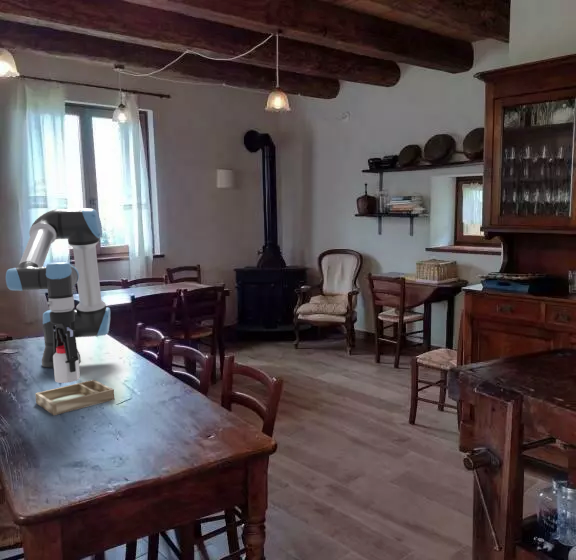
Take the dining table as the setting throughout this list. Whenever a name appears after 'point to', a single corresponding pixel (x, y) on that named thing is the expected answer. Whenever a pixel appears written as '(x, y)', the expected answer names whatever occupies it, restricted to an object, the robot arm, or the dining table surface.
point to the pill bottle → (62, 365)
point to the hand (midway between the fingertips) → (67, 378)
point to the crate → (74, 397)
